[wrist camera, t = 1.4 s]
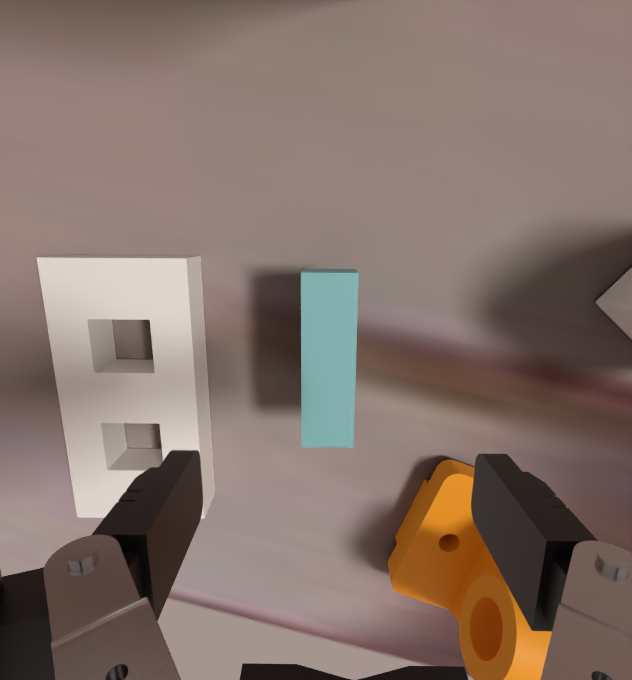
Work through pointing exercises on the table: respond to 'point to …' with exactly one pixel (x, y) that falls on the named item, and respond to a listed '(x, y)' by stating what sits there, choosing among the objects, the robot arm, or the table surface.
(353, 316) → the teal block
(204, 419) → the white slotted board
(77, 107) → the table surface
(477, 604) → the bracket
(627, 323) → the milk carton
